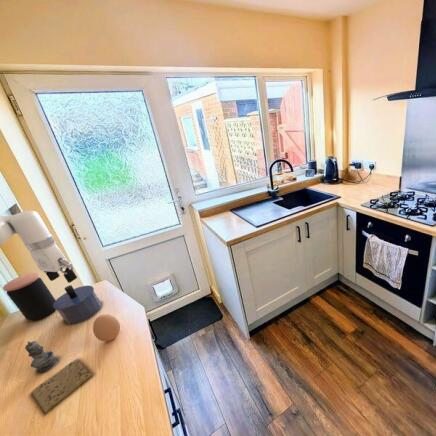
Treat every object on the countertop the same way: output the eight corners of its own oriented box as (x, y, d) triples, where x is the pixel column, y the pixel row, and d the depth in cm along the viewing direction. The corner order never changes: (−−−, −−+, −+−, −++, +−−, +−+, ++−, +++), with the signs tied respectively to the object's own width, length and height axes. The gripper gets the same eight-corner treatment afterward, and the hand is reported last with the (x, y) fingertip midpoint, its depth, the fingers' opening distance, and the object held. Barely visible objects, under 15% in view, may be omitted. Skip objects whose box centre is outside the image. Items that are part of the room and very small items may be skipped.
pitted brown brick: (31, 393, 76) (29, 391, 75) (77, 359, 85) (75, 358, 84) (44, 414, 70) (43, 412, 69) (92, 375, 79) (91, 373, 78)
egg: (125, 337, 91) (113, 316, 87) (101, 350, 87) (87, 329, 83) (122, 325, 97) (111, 305, 92) (99, 337, 93) (86, 316, 88)
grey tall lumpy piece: (31, 372, 82) (10, 348, 77) (50, 356, 87) (32, 332, 82) (44, 375, 81) (23, 351, 76) (62, 358, 86) (44, 335, 81)
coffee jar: (54, 301, 116) (33, 270, 108) (63, 308, 110) (41, 276, 103) (24, 317, 108) (-1, 285, 100) (32, 325, 102) (6, 292, 95)
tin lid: (46, 309, 99) (37, 297, 96) (79, 286, 111) (72, 275, 108) (70, 312, 95) (62, 300, 93) (102, 289, 107) (96, 277, 104)
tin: (58, 322, 103) (47, 307, 99) (87, 300, 113) (78, 286, 110) (80, 326, 99) (70, 310, 96) (108, 303, 110) (99, 288, 107)
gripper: (13, 248, 91) (38, 284, 98) (45, 249, 86) (70, 287, 93) (36, 237, 97) (58, 272, 104) (67, 238, 92) (88, 274, 100)
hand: (64, 279), depth 99 cm, fingers open, 9 cm apart
